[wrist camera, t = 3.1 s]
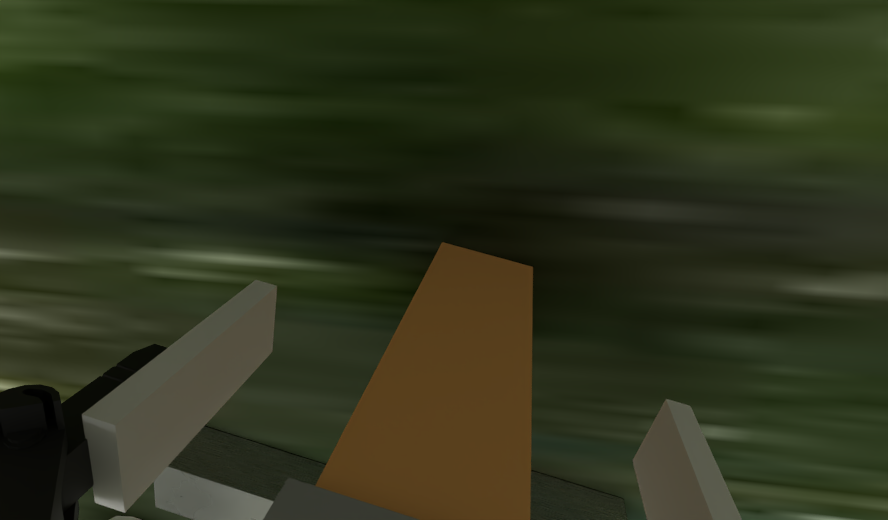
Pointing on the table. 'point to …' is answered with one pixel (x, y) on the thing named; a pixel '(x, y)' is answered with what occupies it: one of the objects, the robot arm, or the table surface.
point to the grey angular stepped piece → (313, 483)
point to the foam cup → (124, 518)
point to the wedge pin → (439, 407)
